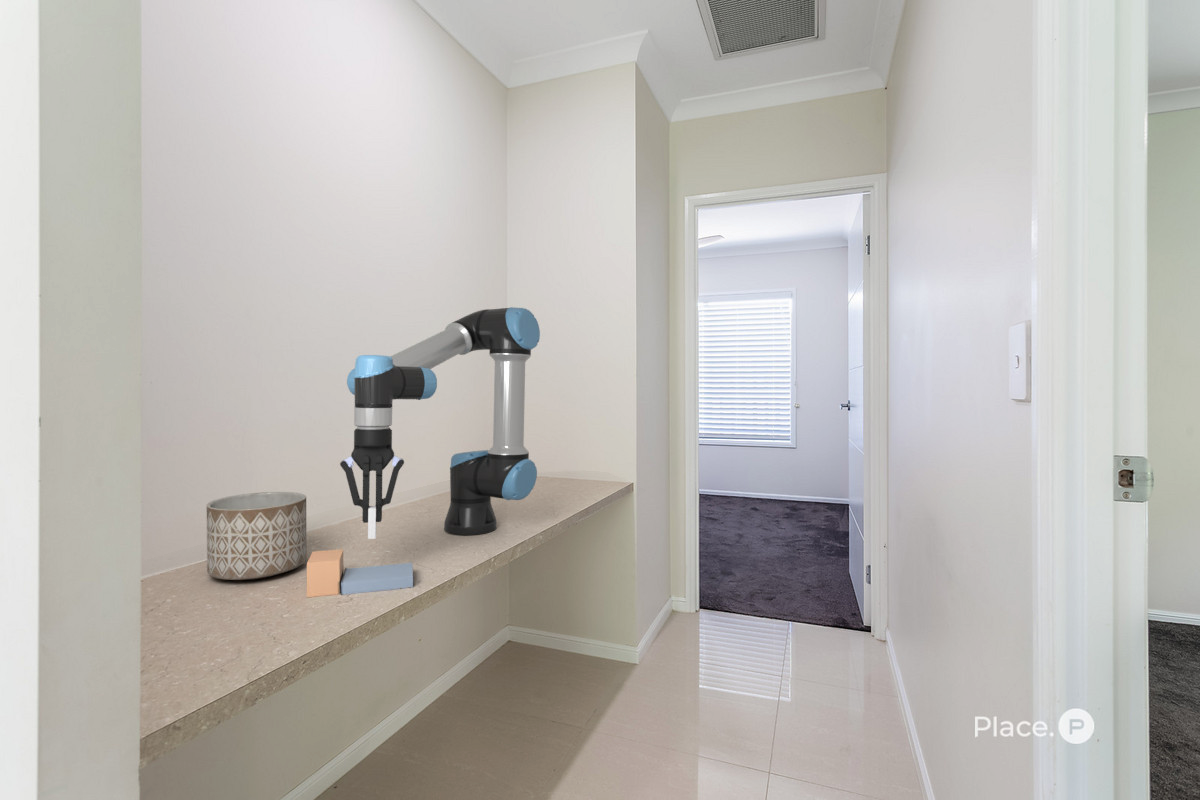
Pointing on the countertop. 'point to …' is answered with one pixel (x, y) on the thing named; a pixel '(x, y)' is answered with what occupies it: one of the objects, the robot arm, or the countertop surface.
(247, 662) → the countertop surface
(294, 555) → the planter
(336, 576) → the block
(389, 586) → the blue-grey slab
